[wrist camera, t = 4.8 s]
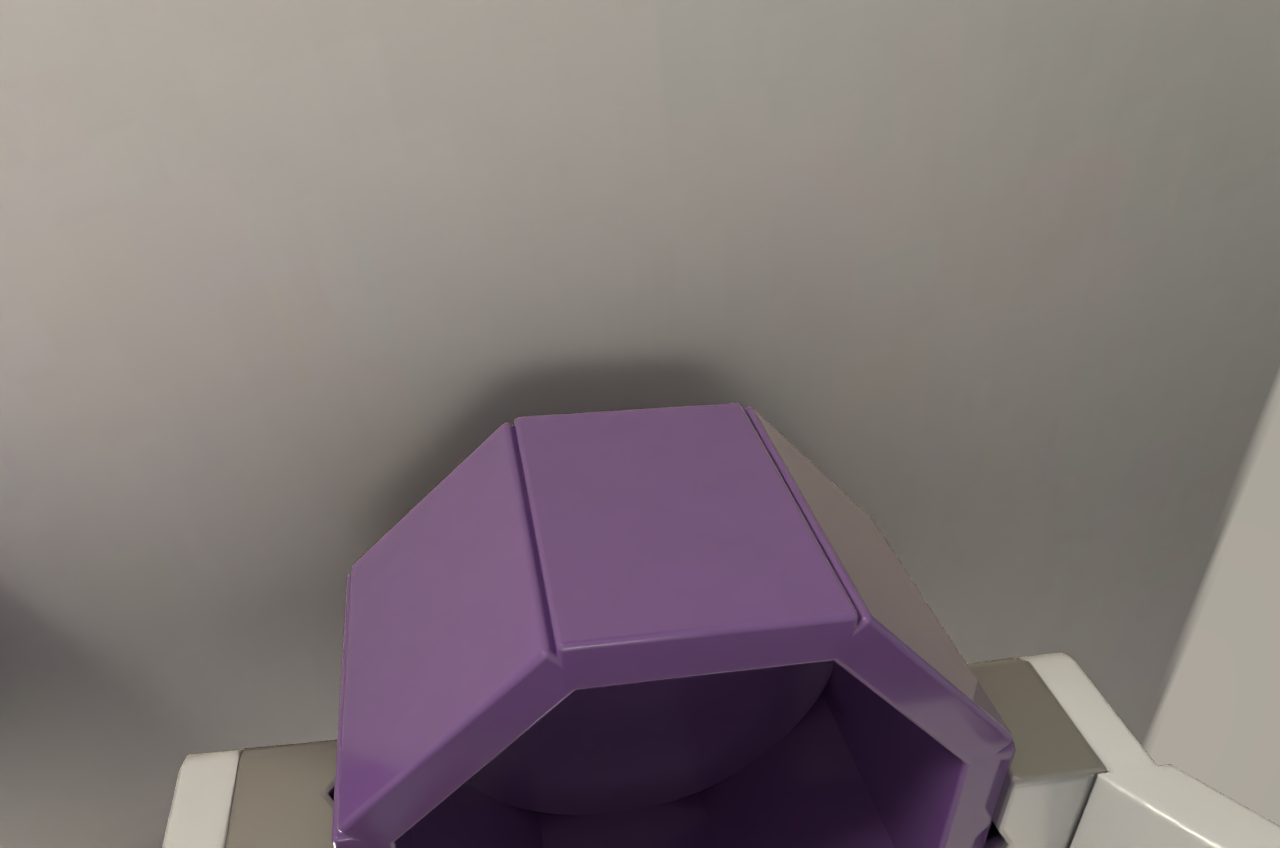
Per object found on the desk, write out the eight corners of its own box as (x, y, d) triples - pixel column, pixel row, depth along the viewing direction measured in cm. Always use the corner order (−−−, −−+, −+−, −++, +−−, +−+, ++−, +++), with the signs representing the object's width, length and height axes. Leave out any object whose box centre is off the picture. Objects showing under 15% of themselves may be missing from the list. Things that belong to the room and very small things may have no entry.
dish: (901, 389, 11) (1070, 592, 9) (827, 770, 14) (932, 1012, 12) (328, 426, 10) (302, 673, 7) (380, 830, 13) (375, 1114, 10)
